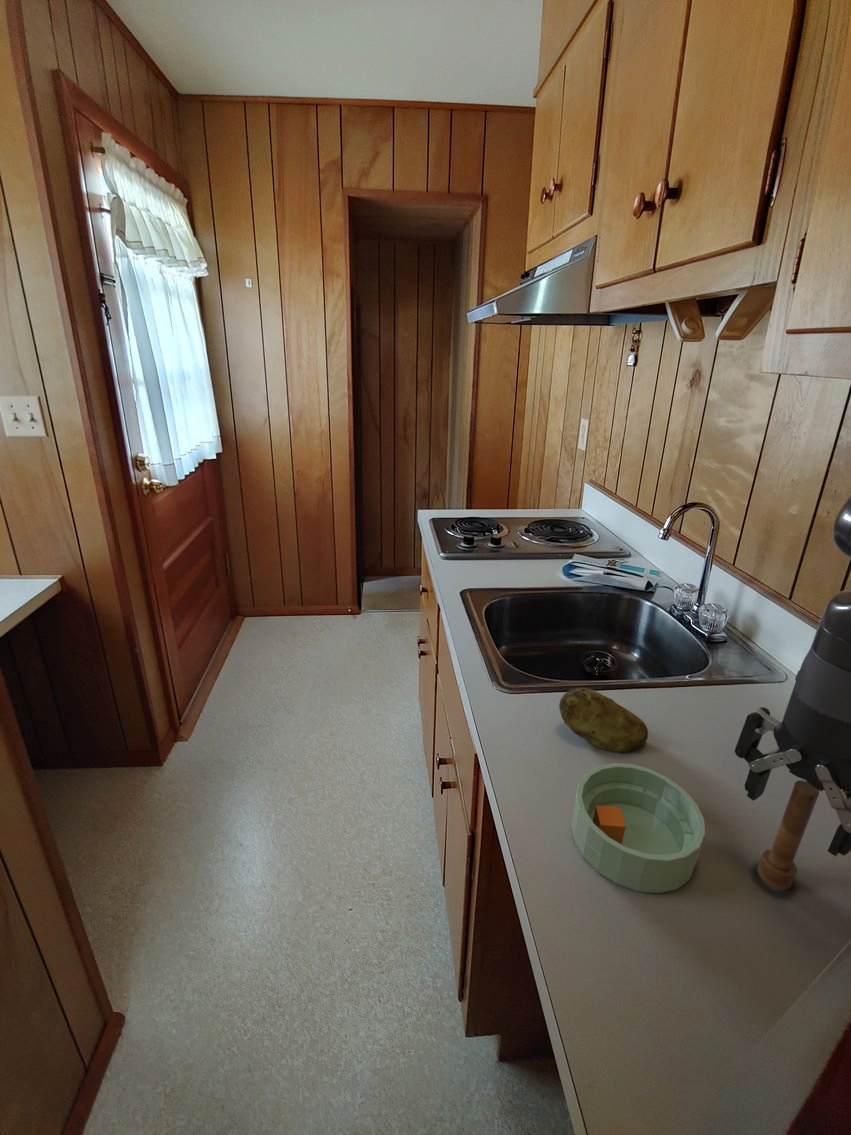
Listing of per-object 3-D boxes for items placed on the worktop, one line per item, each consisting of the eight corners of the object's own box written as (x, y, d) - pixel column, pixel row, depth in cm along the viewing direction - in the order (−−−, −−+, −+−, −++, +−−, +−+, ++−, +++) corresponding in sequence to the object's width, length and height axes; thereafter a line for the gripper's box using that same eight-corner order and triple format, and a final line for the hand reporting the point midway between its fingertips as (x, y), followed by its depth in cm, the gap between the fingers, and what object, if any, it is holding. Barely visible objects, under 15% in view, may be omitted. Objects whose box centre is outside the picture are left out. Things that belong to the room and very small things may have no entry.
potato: (633, 774, 79) (643, 729, 76) (549, 738, 85) (555, 696, 82) (648, 742, 85) (658, 699, 82) (568, 711, 92) (574, 670, 88)
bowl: (622, 782, 77) (629, 749, 75) (719, 860, 66) (731, 824, 64) (546, 826, 70) (552, 790, 68) (640, 921, 59) (650, 883, 57)
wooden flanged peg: (768, 863, 66) (801, 772, 60) (796, 887, 63) (833, 793, 58) (749, 873, 64) (781, 781, 59) (777, 898, 62) (813, 804, 56)
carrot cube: (592, 822, 70) (595, 804, 69) (616, 824, 70) (620, 807, 68) (596, 842, 67) (600, 824, 66) (621, 844, 67) (625, 826, 66)
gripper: (949, 726, 49) (885, 856, 56) (784, 652, 60) (747, 767, 67) (915, 756, 45) (850, 891, 52) (746, 671, 57) (710, 791, 63)
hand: (792, 821), depth 59 cm, fingers open, 8 cm apart
